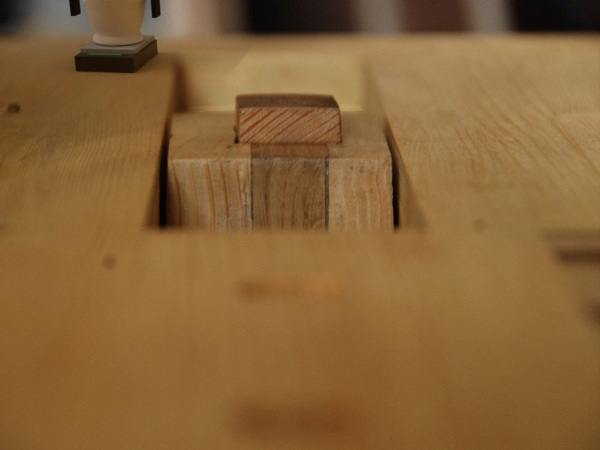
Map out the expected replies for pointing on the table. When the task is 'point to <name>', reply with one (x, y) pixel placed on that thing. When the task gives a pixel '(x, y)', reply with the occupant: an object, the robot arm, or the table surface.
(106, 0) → the jar
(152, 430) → the table surface
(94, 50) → the scale
